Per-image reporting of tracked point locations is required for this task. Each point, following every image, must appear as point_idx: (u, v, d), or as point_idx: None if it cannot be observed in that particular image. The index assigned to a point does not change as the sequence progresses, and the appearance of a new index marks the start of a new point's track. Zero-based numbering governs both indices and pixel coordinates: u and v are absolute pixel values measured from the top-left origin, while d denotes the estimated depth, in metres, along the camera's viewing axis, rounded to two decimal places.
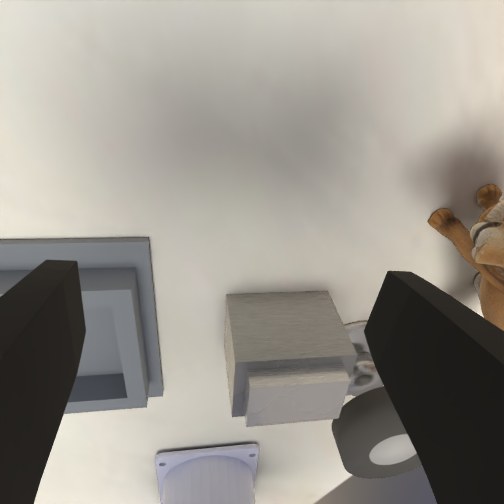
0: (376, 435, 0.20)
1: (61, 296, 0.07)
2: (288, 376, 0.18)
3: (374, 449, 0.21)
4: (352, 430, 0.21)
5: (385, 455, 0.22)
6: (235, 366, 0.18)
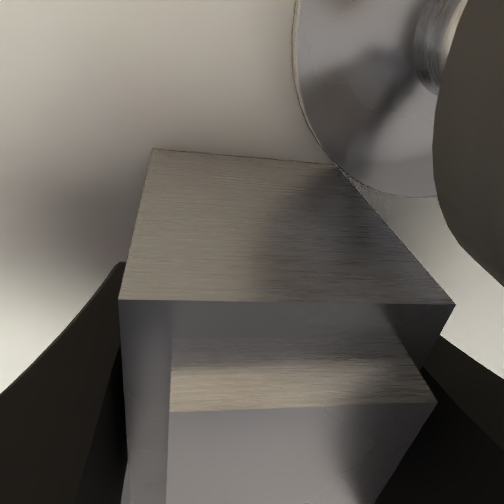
0: None
1: None
2: None
3: None
4: None
5: None
6: None
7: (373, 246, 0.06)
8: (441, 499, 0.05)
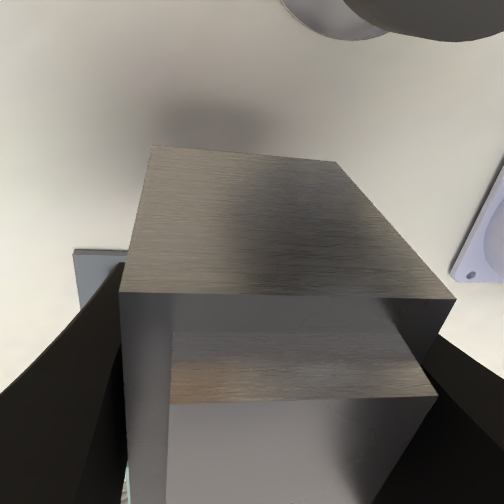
0: None
1: None
2: None
3: None
4: (374, 10, 0.08)
5: None
6: None
7: (374, 241, 0.06)
8: (441, 499, 0.05)
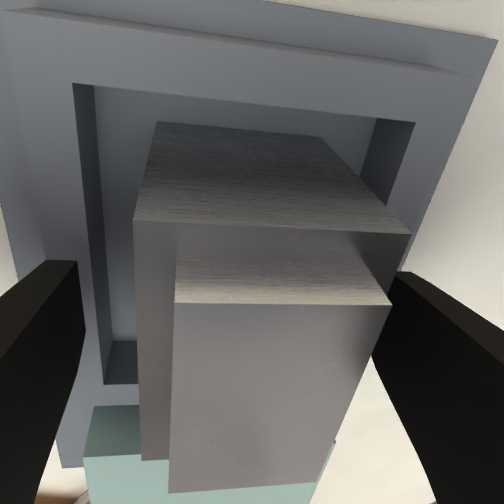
0: None
1: (61, 296, 0.07)
2: None
3: None
4: None
5: None
6: (156, 457, 0.09)
7: (347, 193, 0.07)
8: None
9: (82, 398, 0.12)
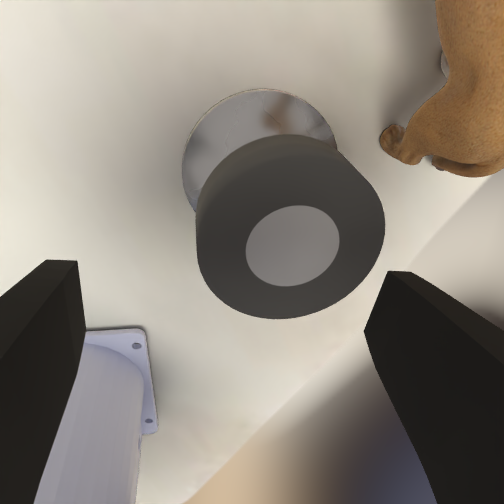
0: (246, 200, 0.11)
1: (61, 296, 0.07)
2: None
3: (251, 241, 0.12)
4: (207, 201, 0.11)
5: (277, 260, 0.12)
6: None
7: None
8: None
9: None
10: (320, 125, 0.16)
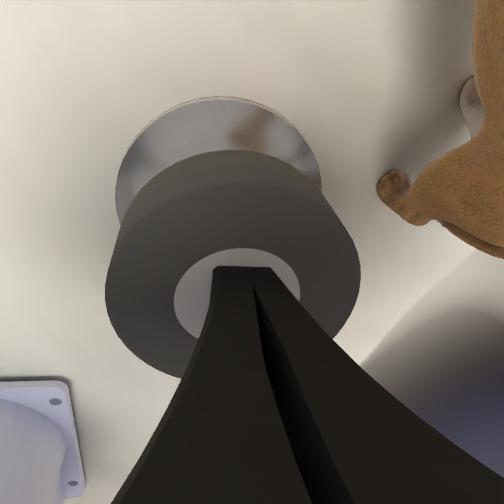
0: (173, 237, 0.08)
1: None
2: None
3: (181, 290, 0.09)
4: (122, 232, 0.08)
5: None
6: None
7: None
8: None
9: None
10: (301, 151, 0.13)
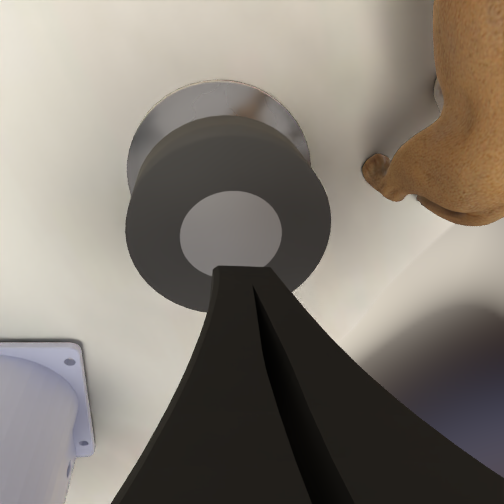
0: (179, 180, 0.10)
1: None
2: None
3: (186, 226, 0.11)
4: (140, 178, 0.11)
5: (214, 249, 0.12)
6: None
7: None
8: None
9: None
10: (292, 129, 0.14)
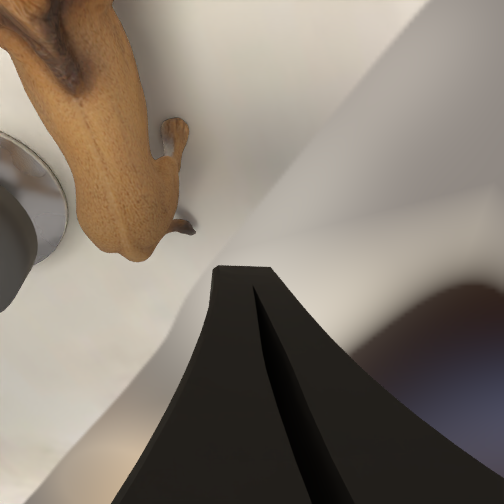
0: None
1: None
2: None
3: None
4: None
5: None
6: None
7: None
8: None
9: None
10: (30, 163, 0.16)
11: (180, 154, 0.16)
